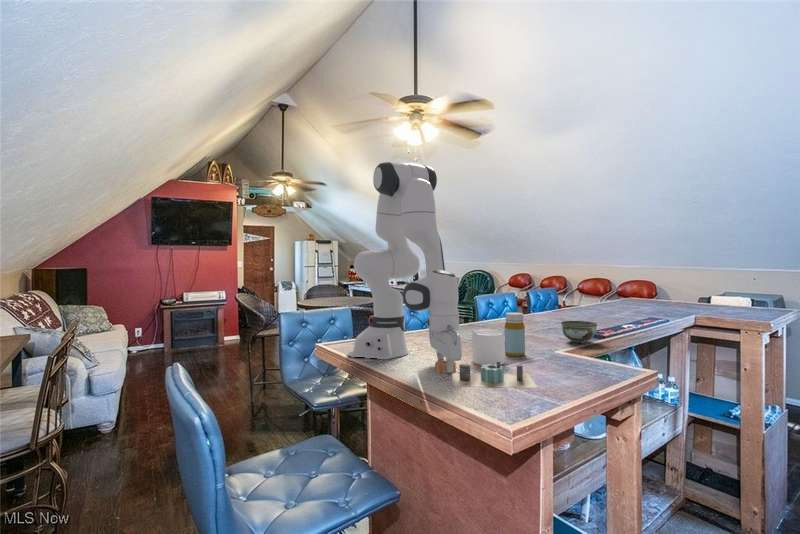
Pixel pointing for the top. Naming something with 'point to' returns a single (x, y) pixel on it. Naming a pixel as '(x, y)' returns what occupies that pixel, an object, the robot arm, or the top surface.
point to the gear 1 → (443, 366)
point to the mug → (488, 347)
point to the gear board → (474, 380)
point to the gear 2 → (492, 373)
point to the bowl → (579, 330)
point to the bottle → (514, 334)
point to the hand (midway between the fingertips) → (445, 368)
